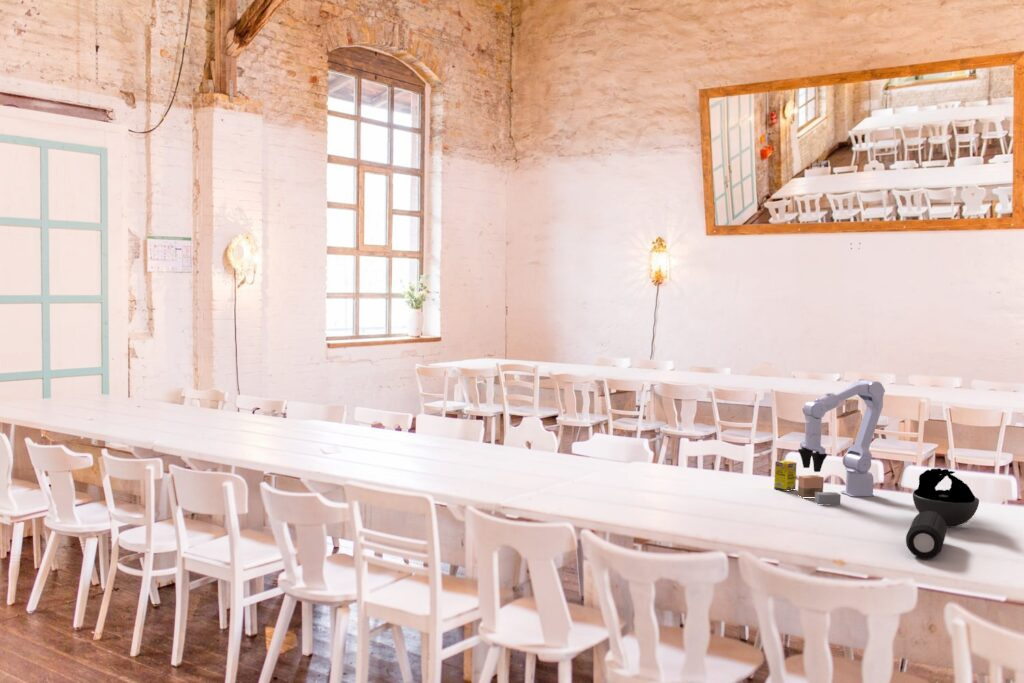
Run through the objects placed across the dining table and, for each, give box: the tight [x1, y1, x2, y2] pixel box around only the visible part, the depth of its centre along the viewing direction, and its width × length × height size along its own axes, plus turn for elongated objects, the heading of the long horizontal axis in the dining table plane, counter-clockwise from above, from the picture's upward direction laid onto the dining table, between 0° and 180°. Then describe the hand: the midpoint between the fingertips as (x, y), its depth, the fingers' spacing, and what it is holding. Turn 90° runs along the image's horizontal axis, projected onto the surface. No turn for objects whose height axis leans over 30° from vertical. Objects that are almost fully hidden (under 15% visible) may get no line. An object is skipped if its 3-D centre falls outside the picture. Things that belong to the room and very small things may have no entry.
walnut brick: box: [797, 485, 824, 497], centre depth 350 cm, size 8×4×4 cm, turn 103°
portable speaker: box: [905, 511, 948, 560], centre depth 280 cm, size 26×10×10 cm, turn 152°
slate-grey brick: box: [814, 491, 841, 506], centre depth 339 cm, size 8×4×4 cm, turn 91°
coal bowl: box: [912, 468, 980, 528], centre depth 309 cm, size 20×20×19 cm
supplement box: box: [773, 459, 797, 491], centre depth 362 cm, size 6×6×11 cm
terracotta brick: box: [797, 474, 825, 489], centre depth 349 cm, size 8×4×4 cm, turn 103°
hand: (811, 469), depth 350 cm, fingers open, 7 cm apart
